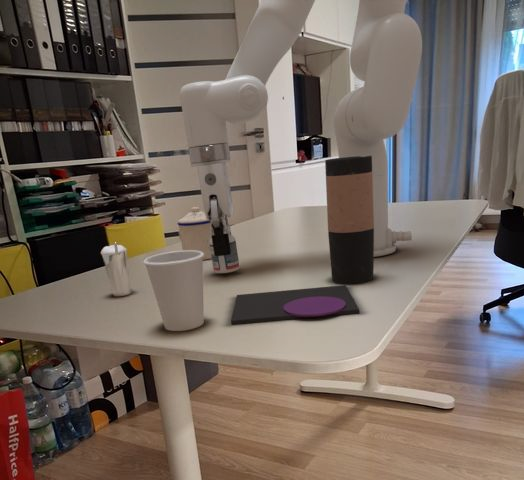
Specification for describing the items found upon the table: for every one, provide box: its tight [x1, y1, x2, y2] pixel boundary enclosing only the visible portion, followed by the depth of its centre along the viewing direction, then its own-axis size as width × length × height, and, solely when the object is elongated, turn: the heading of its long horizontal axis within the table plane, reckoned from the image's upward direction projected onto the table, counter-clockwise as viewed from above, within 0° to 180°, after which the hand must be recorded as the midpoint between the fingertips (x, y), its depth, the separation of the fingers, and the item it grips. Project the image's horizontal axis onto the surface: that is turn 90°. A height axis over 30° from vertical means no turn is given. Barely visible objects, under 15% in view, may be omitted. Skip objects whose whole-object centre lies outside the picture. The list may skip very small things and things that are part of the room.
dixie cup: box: [143, 250, 205, 332], centre depth 74 cm, size 8×8×10 cm
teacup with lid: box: [177, 206, 212, 261], centre depth 124 cm, size 12×9×12 cm
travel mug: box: [324, 156, 375, 285], centre depth 88 cm, size 8×8×20 cm
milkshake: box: [100, 241, 132, 297], centre depth 95 cm, size 4×5×10 cm
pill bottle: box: [209, 224, 240, 274], centre depth 104 cm, size 5×5×9 cm
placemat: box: [230, 284, 360, 325], centre depth 79 cm, size 18×16×1 cm
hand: (224, 251), depth 104 cm, fingers closed on pill bottle, 5 cm apart
